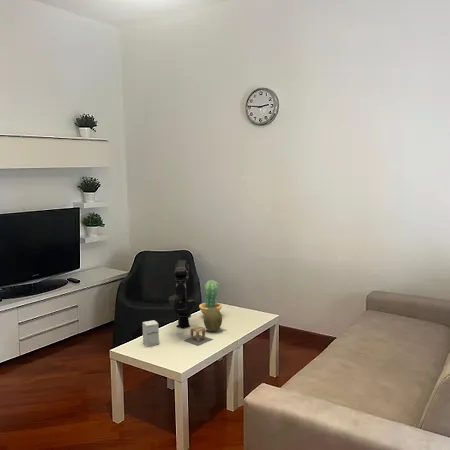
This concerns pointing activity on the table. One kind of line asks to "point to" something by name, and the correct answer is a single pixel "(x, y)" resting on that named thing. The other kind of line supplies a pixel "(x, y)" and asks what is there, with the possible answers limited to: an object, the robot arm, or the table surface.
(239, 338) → the table surface
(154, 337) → the supplement box
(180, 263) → the robot arm
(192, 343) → the mat
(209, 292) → the potted cactus
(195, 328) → the stool
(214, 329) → the fruit
